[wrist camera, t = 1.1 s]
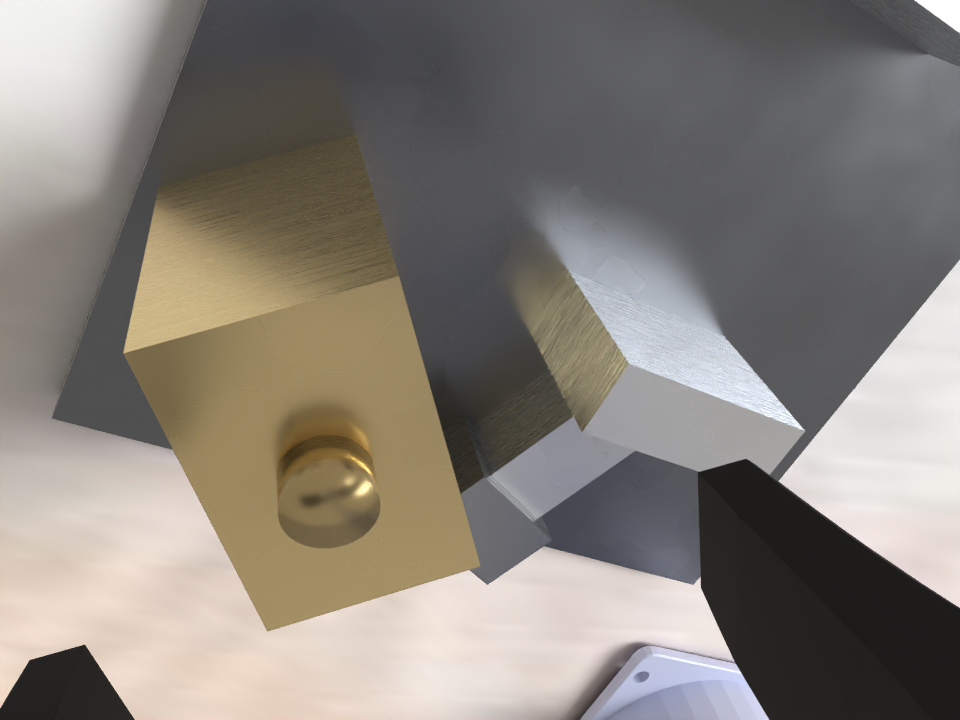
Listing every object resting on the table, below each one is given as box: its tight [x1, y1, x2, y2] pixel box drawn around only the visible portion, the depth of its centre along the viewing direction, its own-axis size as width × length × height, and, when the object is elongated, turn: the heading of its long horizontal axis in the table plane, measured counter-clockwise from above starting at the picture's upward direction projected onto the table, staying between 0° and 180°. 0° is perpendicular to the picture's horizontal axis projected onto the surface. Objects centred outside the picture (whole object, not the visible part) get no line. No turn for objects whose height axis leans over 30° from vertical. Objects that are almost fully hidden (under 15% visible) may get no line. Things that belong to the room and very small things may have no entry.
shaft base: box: [52, 0, 960, 585], centre depth 16 cm, size 21×17×4 cm
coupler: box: [123, 134, 480, 631], centre depth 15 cm, size 6×4×6 cm, turn 11°
